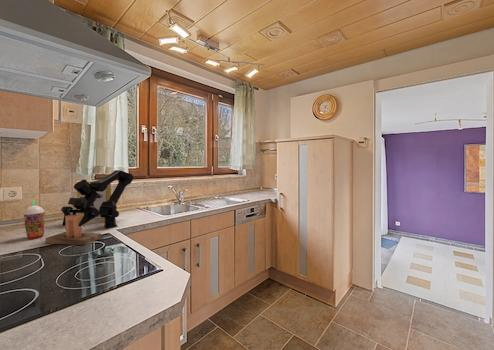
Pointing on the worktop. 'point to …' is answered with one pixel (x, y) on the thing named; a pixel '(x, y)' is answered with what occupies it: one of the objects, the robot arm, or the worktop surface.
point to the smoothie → (34, 221)
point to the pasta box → (97, 203)
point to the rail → (74, 239)
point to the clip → (73, 226)
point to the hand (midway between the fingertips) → (71, 225)
